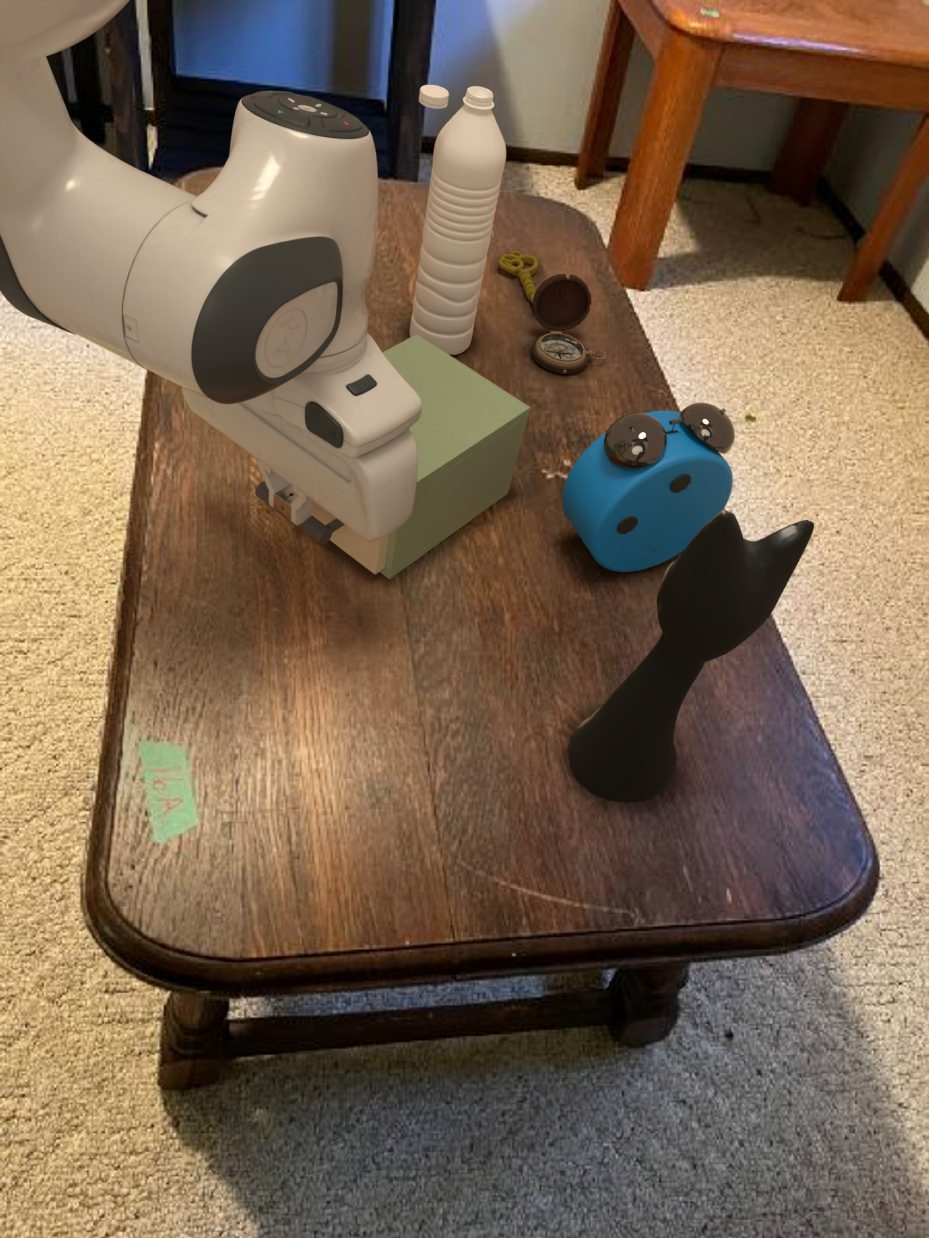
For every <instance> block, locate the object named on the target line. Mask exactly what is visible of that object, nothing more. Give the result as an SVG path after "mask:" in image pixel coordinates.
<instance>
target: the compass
mask: <svg viewBox="0 0 929 1238" xmlns="http://www.w3.org/2000/svg"><path fill="white" fill-rule="evenodd" d="M591 305H592V295H591V292H590V289H589V287H588V285H587V283H586V282H585V281H584V280H583V279H582V278H580V277H579V276H577V275H575V274H571V273H568V272H567V273H558V274H555V275H552V276H550V277H548V278H546V279H545V280H543V281H542V282H541V283H540V285H538V287H536V292H535V294H534V298H533V305H532V312H533V314H534V316H535V319H536V321H537V322H538V323H539V324H540V325H541V326H542V327H543V328H545V329H546V330H549V333H545V334H542V335H539V336H537V337H536V338H535V339H533V341H532V344H531V347H530V355H531V357H532V358H533V360H534V362H536V363H537V364H538V365H539V366H540V367H542V368H544V369H546V370H547V371H550V372H553V373H557V374H563V375H564V374H565V375H566V374H567V375H569V374H570V375H571V374H576V373H579V372H581V371H583V370H584V369H586V367H587V366H588V363H589V359H590V357H591V358H592V359H594V360H599V361H600V360H604V359H606V357H607V353H606V352H605V351H604V350H603V349H600V348H597V347H596V348H591V349H590V350H588V349H587V347H586V346H585V345H584V344H582V342H581V341H579V340H578V339H577V338H576V337H574V336H572V335H569V334H566V333H563V332H566V331H569V330H572V329H574V328H576V327H577V326H579V325H580V324H582V323H583V321H584V320H586V318H587V317H588V315H589V313H590V311H591V308H590V307H591ZM595 351H599V352H601V353H602V354H604V356H603V357H595V354H596V353H595Z"/></svg>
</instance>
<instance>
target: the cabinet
mask: <svg viewBox="0 0 929 1238" xmlns="http://www.w3.org/2000/svg"><path fill="white" fill-rule="evenodd" d="M382 353H383V354H384V356H385V357H386V358H387V360H388V361H389V362H390V363H391V365H392V366H393V367H394V368H395V369H396V370H397V372H398V373H399V374H400V375H401V376H402V377H403V378H404V380H405V381H406V382H407V383H408V384H409V385H410V386H411V387H412V388H413V389H414V390H415V392H416V393H417V394H418V396H419V397H420V399H421V402H422V412H421V416H420V419H419V420H418V421H417V422H416V423H415V424H413V425H412V426H411V427H410V428H409V430H410V431H411V433H412V435H413V437H414V439H415V442H416V445H417V451H418V471H417V483H416V492H415V499H414V505H413V509H412V513H411V516H410V518H409V519H408V520H407V521H406V523H404V524H403V525H402V526H401V527H400V528H398V529H397V530H395V531H394V532H392V533H391V534H390V536H389V543H388V550H387V556H386V563H385V568H384V569H382V570H381V571H380V572H379V573H380V574H381V575H383V576H384V577H385V578H387V579H388V580H391V579H392V578H394V577H395V576H396V575H398V574H399V573H401V572H402V571H403V570H405V569H406V568H408V567H409V566H410V565H412V564H413V563H414V562H416V561H418V560H419V559H420V558H421V557H422V556H424V555H426V554H427V553H428V552H429V551H432V549H434V548H435V547H436V546H438V545H439V544H441V543H442V542H443V541H445V540H446V539H448V538H449V537H450V536H452V535H453V534H454V533H457V531H458V530H460V529H461V528H463V527H464V526H465V525H467V524H468V523H470V522H471V521H472V520H473V519H475V518H477V517H478V516H479V515H481V514H482V513H483V512H485V511H486V510H487V509H489V508H491V506H493V505H494V504H496V503H497V502H498V501H500V500H501V499H502V498H504V497H505V496H507V495H508V494H509V491H510V488H511V484H512V480H513V475H514V472H515V468H516V464H517V460H518V456H519V453H520V449H521V445H522V441H523V438H524V433H525V429H526V426H527V423H528V422H527V421H528V418H529V414H530V410H531V406H529V405H528V404H526V403H525V402H523V401H521V400H520V399H518V398H516V397H515V396H513V395H512V394H510V393H509V392H507V391H506V390H504V389H503V388H502V387H500V386H498V385H497V384H495V383H493V382H492V381H490V380H489V379H487V378H485V377H484V376H483V375H481V374H480V373H478V372H476V371H475V370H474V369H472V368H471V367H468V366H467V365H466V364H464V363H463V362H461V361H460V360H458V359H457V358H455V357H453V355H448V354H447V353H445V352H444V351H442V350H441V349H439V348H438V347H436V346H434V345H433V344H431V343H430V342H428V341H427V340H425V339H424V338H422V337H421V336H419V335H417V334H416V335H414V336H412V337H410V336H409V337H408V338H406V339H405V340H403V341H400V342H399V343H397V344H395V345H393V346H392V347H390V348H388V349H386V350H384V351H382Z"/></svg>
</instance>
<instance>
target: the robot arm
mask: <svg viewBox="0 0 929 1238" xmlns="http://www.w3.org/2000/svg"><path fill="white" fill-rule="evenodd" d="M130 1H131V0H0V293H1V295H2V296H3V297H4V298H5V299H6V301H7V302H8V303H9V304H10V305H11V306H12V307H13V308H15V309H16V310H17V311H19V312H20V313H22V314H23V315H25V316H27V317H30V318H32V319H34V320H37V321H40V322H41V323H45V324H47V325H50V326H52V327H54V328H57V329H59V330H62V331H64V332H66V333H69V334H73V335H76V336H79V337H80V338H82V339H84V340H87V341H89V342H91V343H92V344H94V345H97V346H98V347H100V348H102V349H104V350H106V351H109V352H110V353H112V354H114V355H117V356H119V357H120V358H122V359H124V360H125V361H128V362H130V363H132V364H135V365H136V366H138V367H140V368H142V369H144V370H146V371H149V372H151V373H154V374H155V375H157V376H160V377H161V378H163V379H166V380H168V381H169V382H171V383H173V384H176V385H177V386H179V387H182V388H181V390H182V396H183V397H184V400H185V401H186V404H187V406H188V407H189V410H191V411H192V412H193V413H194V414H195V415H197V416H198V417H200V419H202V420H203V421H205V422H206V423H207V424H209V425H210V426H212V427H213V428H214V429H215V430H217V431H219V432H220V433H221V434H223V435H224V436H225V437H226V438H228V439H229V440H230V441H232V442H233V443H234V444H236V445H237V446H239V447H240V448H242V449H243V450H244V451H245V452H246V453H248V454H249V455H251V456H252V457H253V458H255V459H256V460H257V467H258V469H259V472H260V474H261V476H262V479H263V481H265V483H266V486H267V488H268V489H269V505H270V506H272V507H273V508H275V509H276V510H277V511H279V512H280V513H281V514H283V515H284V516H285V517H286V518H288V519H289V520H290V521H291V522H293V523H294V524H295V525H300V524H301V523H303V522H305V521H306V520H307V519H308V518H309V517H311V515H312V513H313V501H314V502H316V503H317V504H318V505H320V506H321V507H322V508H324V509H325V510H326V511H328V512H329V513H330V514H332V515H333V516H334V517H336V518H337V519H338V520H340V521H341V522H342V523H344V524H345V525H347V526H348V527H349V528H351V529H352V530H353V531H355V532H356V533H357V534H359V535H360V536H361V537H362V538H364V539H365V540H367V541H370V542H373V541H376V540H379V539H381V538H383V537H385V536H387V535H389V534H391V533H392V532H394V531H395V530H397V529H398V528H400V527H401V526H402V525H403V524H404V523H406V521H407V520H408V519H409V518H410V516H411V513H412V509H413V505H414V499H415V492H416V483H417V471H418V451H417V445H416V442H415V439H414V437H413V435H412V433H411V431H410V430H409V428H410V427H411V426H412V425H413V424H415V423H416V422H417V421H418V420H419V419H420V416H421V412H422V402H421V399H420V397H419V396H418V394H417V393H416V392H415V390H414V389H413V388H412V387H411V386H410V385H409V384H408V383H407V382H406V381H405V380H404V378H403V377H402V376H401V375H400V374H399V373H398V372H397V370H396V369H395V368H394V367H393V366H392V365H391V363H390V362H389V361H388V360H387V358H386V357H385V356H384V354H383V353H382V352H383V351H382V350H381V349H380V347H379V346H378V344H377V342H376V341H375V339H374V338H373V337H372V336H371V335H370V333H368V327H369V314H368V308H367V304H366V297H365V295H366V287H367V284H368V282H369V280H370V277H371V276H372V273H373V270H374V266H375V265H374V264H375V257H376V248H377V247H376V246H377V236H378V235H377V234H378V217H379V215H378V214H379V175H378V161H377V160H378V159H377V152H376V146H375V142H374V138H373V135H372V132H371V130H370V129H369V128H368V127H367V126H366V125H365V124H364V123H363V122H362V121H361V120H360V119H359V118H358V117H357V116H356V115H354V114H352V113H350V112H348V111H346V110H344V109H342V108H340V107H338V106H336V105H333V104H331V103H328V102H325V101H323V100H320V99H318V98H315V97H312V96H309V95H301V94H297V93H294V92H291V91H281V90H261V91H257V92H255V93H252V94H247V95H245V96H243V97H242V98H241V99H240V100H239V101H238V103H237V105H236V109H235V113H234V118H233V123H232V128H231V129H232V130H231V138H230V144H229V145H230V146H229V152H228V153H229V154H228V158H227V160H226V162H225V164H224V165H223V167H222V169H221V170H220V171H219V174H218V175H217V176H216V177H215V178H214V180H213V181H212V183H210V185H209V186H208V187H207V188H206V189H204V191H203V192H202V193H200V194H198V195H196V194H193V193H191V192H189V191H187V190H184V189H183V188H180V187H179V186H175V185H173V184H171V183H169V182H167V181H165V180H162V179H160V178H158V177H155V176H153V175H151V174H149V173H147V172H145V171H142V170H140V169H138V168H136V167H134V166H132V165H130V164H129V163H126V162H125V161H123V160H122V159H119V158H118V157H116V156H114V155H112V154H111V153H109V152H108V151H106V150H105V149H103V148H101V147H100V146H98V145H97V144H95V142H93V141H92V140H90V139H89V138H88V137H86V135H84V134H83V133H82V132H81V131H80V130H79V129H78V128H77V127H76V126H75V124H74V123H73V121H72V118H71V117H70V114H69V111H68V109H67V106H66V104H65V102H64V99H63V96H62V94H61V91H60V89H59V87H58V84H57V81H56V79H55V76H54V73H53V71H52V68H51V66H50V63H49V60H48V58H47V57H48V56H51V55H54V54H57V53H59V52H62V51H64V50H66V49H68V48H70V47H73V46H75V45H77V44H79V43H80V42H82V41H84V40H86V39H87V38H89V37H90V36H92V35H93V34H95V33H96V32H98V31H99V30H100V29H102V28H103V27H104V26H105V25H107V23H109V22H110V21H111V20H112V19H114V17H116V16H117V15H118V13H120V11H122V9H123V8H125V6H126V5H127V4H128V3H129V2H130ZM269 505H268V506H269ZM270 506H269V507H270ZM272 507H271V508H272ZM273 508H272V509H273ZM276 510H275V511H276ZM277 511H276V512H277ZM281 514H280V515H281ZM285 517H284V518H285ZM286 518H285V519H286ZM289 520H288V521H289ZM290 521H289V522H290ZM291 522H290V523H291ZM294 524H293V525H294ZM295 525H294V526H295Z"/></svg>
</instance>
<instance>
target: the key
mask: <svg viewBox="0 0 929 1238" xmlns="http://www.w3.org/2000/svg"><path fill="white" fill-rule="evenodd" d="M526 264H527V265H531V266H530V267H527V268H524V267H525V265H526ZM497 266H498V268H500V269H501V270H503V271H504V272H506V273H508V274H509V275H512V276H513V277H516V278H518V279H519V281H520V283H521V285H522V287H523V291H524V294H525V296H526V299H527V300H528V301H529V302H531V305H532V306H533V298H534V294H535V292H536V290H537V287H536V286H535V283H534V281H533V278H532V276H534V275H535V274H536V273H537V271H538V267H539V260H538V258H537V257H535V256H534V255H531V254H523V253H522V252H521V251H518V250H512V251H511V252H510V253H504V254H502V255H501V256H500V258H499V259H498V261H497Z"/></svg>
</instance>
